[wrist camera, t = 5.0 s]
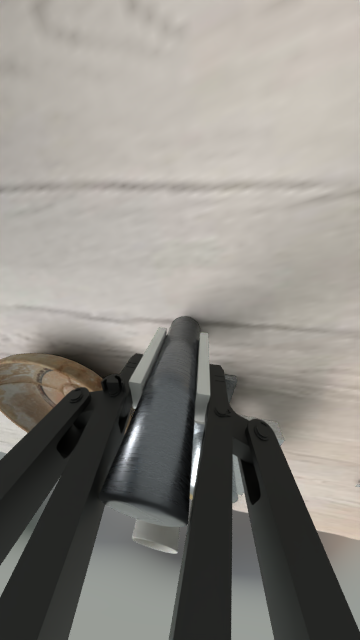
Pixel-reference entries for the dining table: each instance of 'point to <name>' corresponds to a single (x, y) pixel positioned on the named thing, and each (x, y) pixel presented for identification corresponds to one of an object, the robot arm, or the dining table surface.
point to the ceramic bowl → (40, 385)
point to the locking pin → (160, 437)
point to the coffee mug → (157, 536)
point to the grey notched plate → (236, 475)
